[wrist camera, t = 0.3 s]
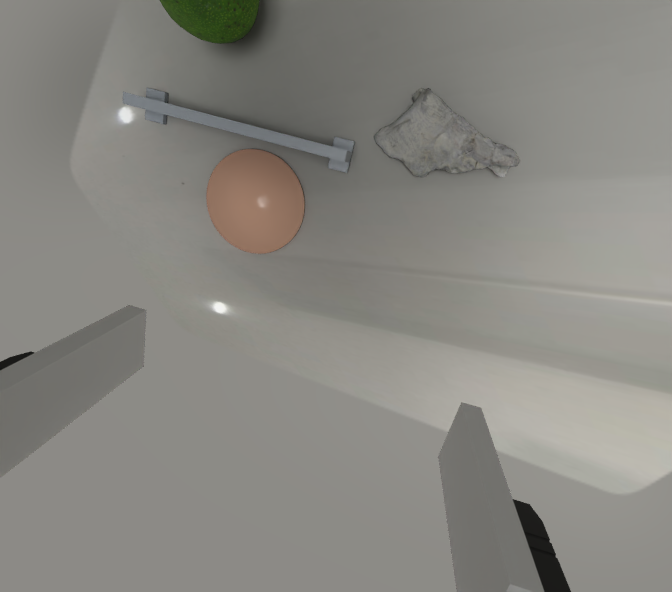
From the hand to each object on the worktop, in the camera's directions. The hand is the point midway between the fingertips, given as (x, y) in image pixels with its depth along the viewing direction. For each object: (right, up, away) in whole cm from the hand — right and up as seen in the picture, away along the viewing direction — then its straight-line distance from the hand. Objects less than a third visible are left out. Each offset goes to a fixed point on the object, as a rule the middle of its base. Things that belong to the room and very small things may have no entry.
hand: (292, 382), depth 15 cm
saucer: (-7, +14, +25) cm, 30 cm away
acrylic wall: (-7, +21, +23) cm, 32 cm away
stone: (+12, +18, +21) cm, 30 cm away
